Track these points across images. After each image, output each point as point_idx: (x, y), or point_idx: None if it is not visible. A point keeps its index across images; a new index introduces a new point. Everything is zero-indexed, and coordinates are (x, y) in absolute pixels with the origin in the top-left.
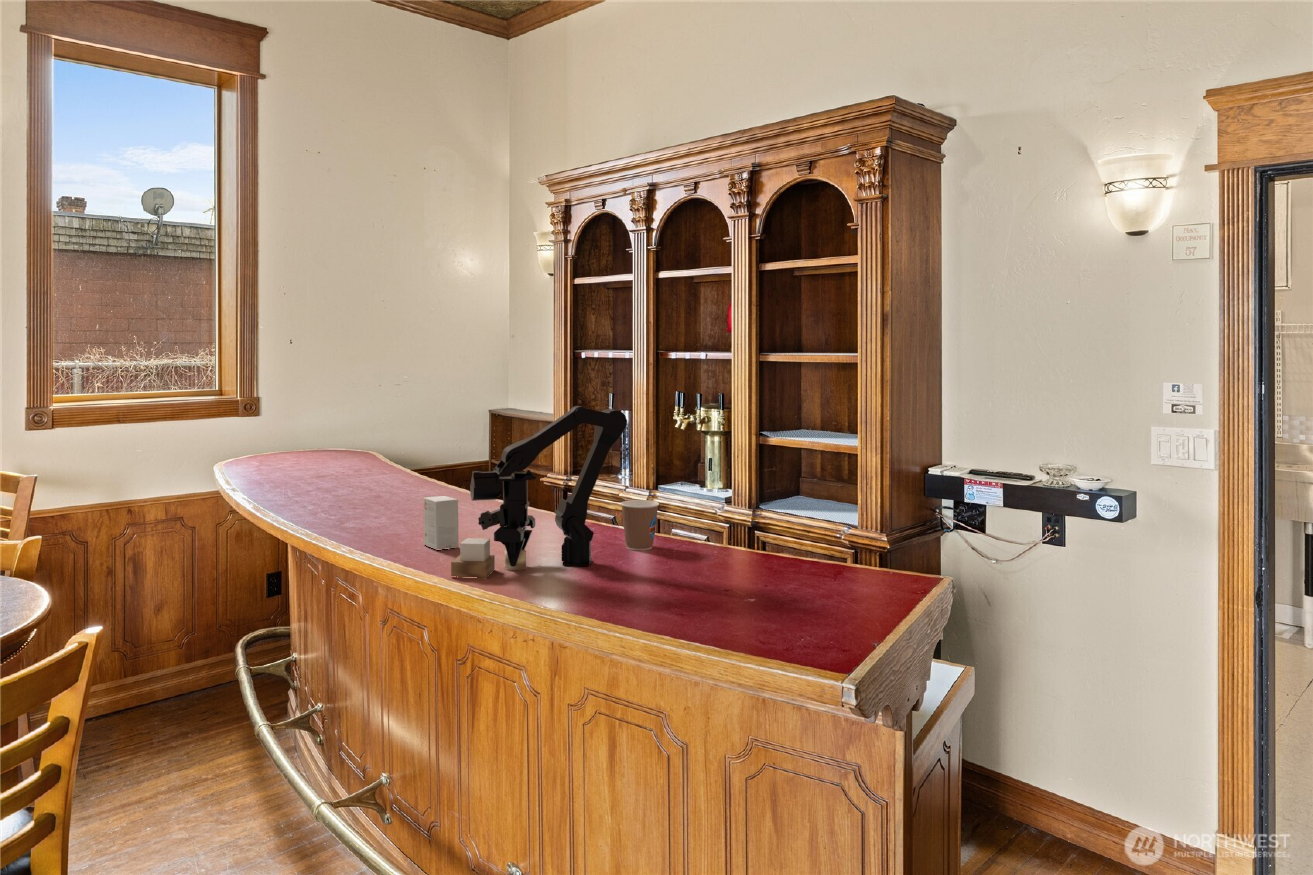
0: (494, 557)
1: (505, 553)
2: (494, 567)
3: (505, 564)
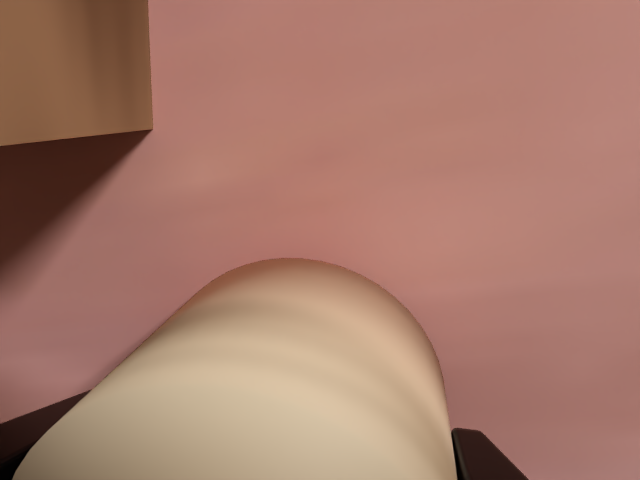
0: (17, 142)
1: (97, 393)
2: (129, 130)
3: (194, 298)
